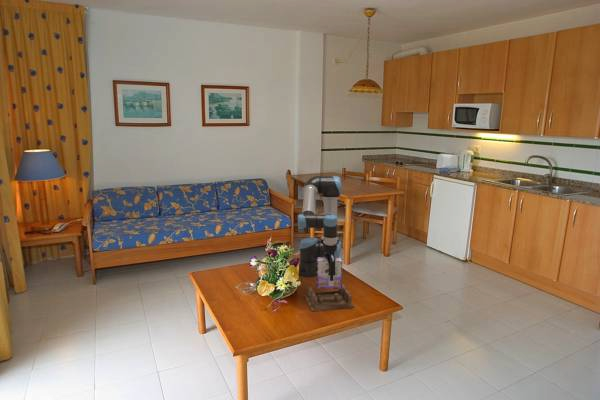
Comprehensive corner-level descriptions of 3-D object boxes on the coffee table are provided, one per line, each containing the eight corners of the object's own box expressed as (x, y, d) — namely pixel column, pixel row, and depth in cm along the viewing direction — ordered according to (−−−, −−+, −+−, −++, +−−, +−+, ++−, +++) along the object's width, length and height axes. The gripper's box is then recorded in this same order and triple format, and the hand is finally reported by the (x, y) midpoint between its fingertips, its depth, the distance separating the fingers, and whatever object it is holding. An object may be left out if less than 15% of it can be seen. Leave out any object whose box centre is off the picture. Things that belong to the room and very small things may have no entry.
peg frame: (304, 296, 231) (304, 285, 230) (344, 293, 236) (344, 282, 234) (311, 311, 214) (311, 299, 213) (354, 307, 219) (354, 295, 217)
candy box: (341, 285, 225) (342, 257, 222) (341, 289, 219) (342, 261, 216) (317, 284, 226) (317, 256, 223) (316, 288, 221) (316, 260, 217)
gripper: (319, 238, 227) (318, 276, 231) (328, 249, 208) (327, 290, 212) (331, 237, 228) (330, 275, 233) (342, 248, 209) (340, 289, 214)
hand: (329, 282), depth 222 cm, fingers closed on candy box, 7 cm apart
